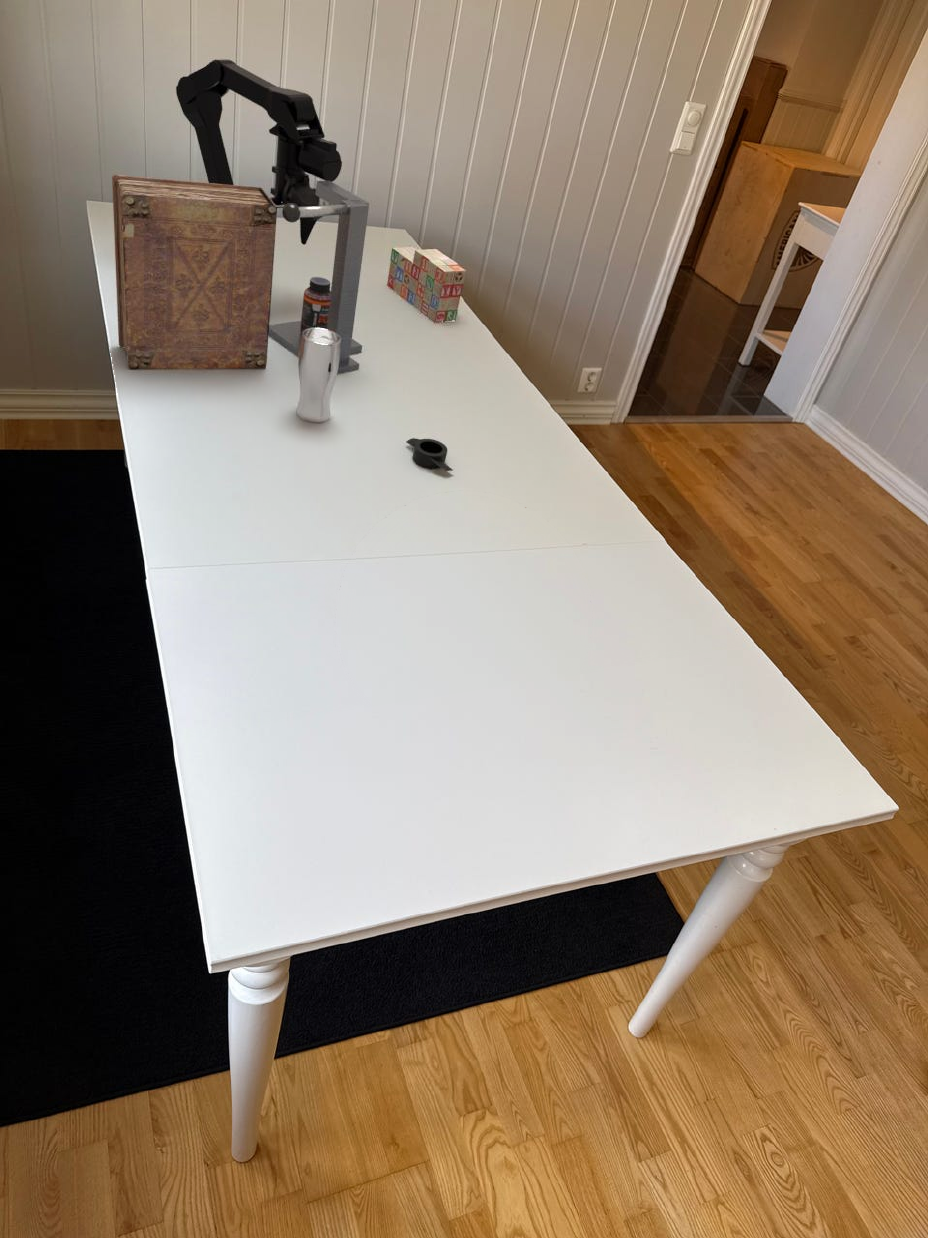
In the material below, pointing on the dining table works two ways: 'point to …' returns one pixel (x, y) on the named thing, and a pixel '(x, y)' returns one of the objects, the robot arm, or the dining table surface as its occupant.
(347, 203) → the arbor press
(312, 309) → the supplement bottle
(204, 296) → the book
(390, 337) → the dining table surface
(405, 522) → the dining table surface
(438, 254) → the stack of blocks
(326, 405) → the beer glass
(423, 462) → the black winged ring
